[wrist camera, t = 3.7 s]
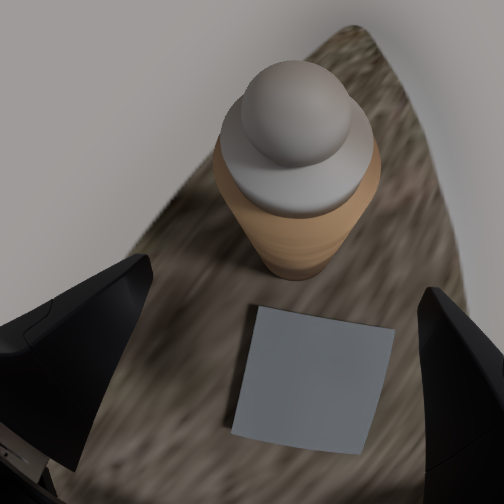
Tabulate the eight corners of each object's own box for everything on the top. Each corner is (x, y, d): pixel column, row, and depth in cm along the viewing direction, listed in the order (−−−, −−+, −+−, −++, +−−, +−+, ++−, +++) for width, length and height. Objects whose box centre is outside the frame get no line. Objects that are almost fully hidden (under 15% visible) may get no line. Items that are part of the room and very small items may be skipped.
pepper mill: (326, 287, 19) (421, 214, 4) (252, 273, 20) (140, 171, 5) (337, 214, 20) (405, 32, 5) (266, 202, 21) (212, 13, 6)
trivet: (358, 449, 17) (360, 454, 16) (233, 429, 18) (230, 433, 17) (391, 329, 18) (395, 329, 17) (260, 306, 20) (259, 305, 19)
